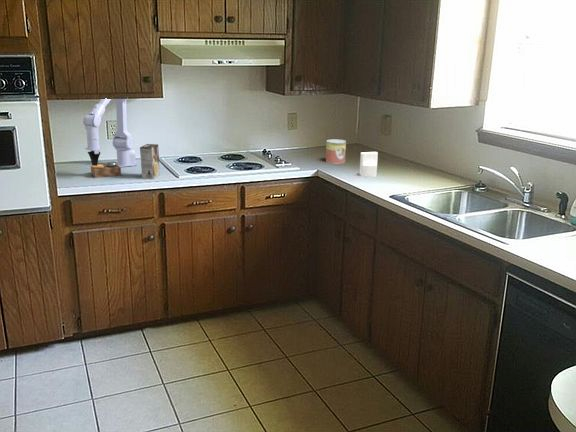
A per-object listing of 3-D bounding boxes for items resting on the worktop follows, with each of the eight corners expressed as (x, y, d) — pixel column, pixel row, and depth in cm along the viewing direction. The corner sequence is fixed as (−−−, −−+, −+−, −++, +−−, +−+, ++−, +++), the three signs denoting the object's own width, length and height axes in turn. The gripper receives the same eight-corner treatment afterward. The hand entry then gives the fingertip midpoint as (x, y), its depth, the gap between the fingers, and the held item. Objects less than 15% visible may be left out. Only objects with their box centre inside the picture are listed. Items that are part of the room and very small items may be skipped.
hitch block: (116, 171, 314) (116, 163, 313) (121, 175, 305) (120, 167, 304) (91, 173, 308) (90, 166, 307) (95, 177, 300) (94, 170, 298)
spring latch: (102, 166, 306) (102, 164, 306) (103, 167, 303) (103, 166, 303) (91, 165, 304) (91, 164, 304) (93, 167, 301) (93, 165, 300)
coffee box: (148, 174, 309) (146, 143, 304) (160, 174, 308) (158, 144, 303) (141, 178, 300) (139, 147, 295) (153, 179, 299) (151, 147, 294)
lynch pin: (116, 171, 311) (115, 161, 310) (118, 173, 307) (117, 163, 305) (106, 172, 309) (105, 162, 307) (108, 174, 305) (107, 163, 303)
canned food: (332, 164, 337) (333, 143, 334) (321, 160, 347) (322, 140, 343) (349, 162, 343) (350, 141, 339) (337, 158, 352) (338, 138, 348)
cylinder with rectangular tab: (363, 177, 309) (364, 154, 306) (356, 173, 317) (358, 151, 314) (379, 176, 312) (380, 154, 308) (372, 172, 320) (373, 150, 316)
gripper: (82, 137, 303) (84, 163, 307) (87, 141, 291) (89, 168, 294) (96, 136, 306) (98, 162, 310) (102, 140, 294) (104, 167, 298)
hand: (94, 165), depth 302 cm, fingers closed, pressing on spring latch
